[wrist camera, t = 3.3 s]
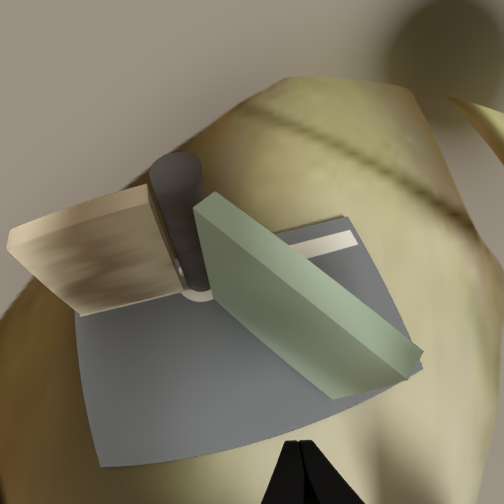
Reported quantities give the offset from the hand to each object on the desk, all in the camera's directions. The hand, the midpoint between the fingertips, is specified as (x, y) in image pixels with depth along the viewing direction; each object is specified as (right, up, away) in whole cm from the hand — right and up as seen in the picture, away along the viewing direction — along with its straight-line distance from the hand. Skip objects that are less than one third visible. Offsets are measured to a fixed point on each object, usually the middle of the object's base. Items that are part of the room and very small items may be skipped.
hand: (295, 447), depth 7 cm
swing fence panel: (0, 0, +10) cm, 10 cm away
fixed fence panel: (-9, +3, +12) cm, 15 cm away
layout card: (-2, 0, +11) cm, 11 cm away
